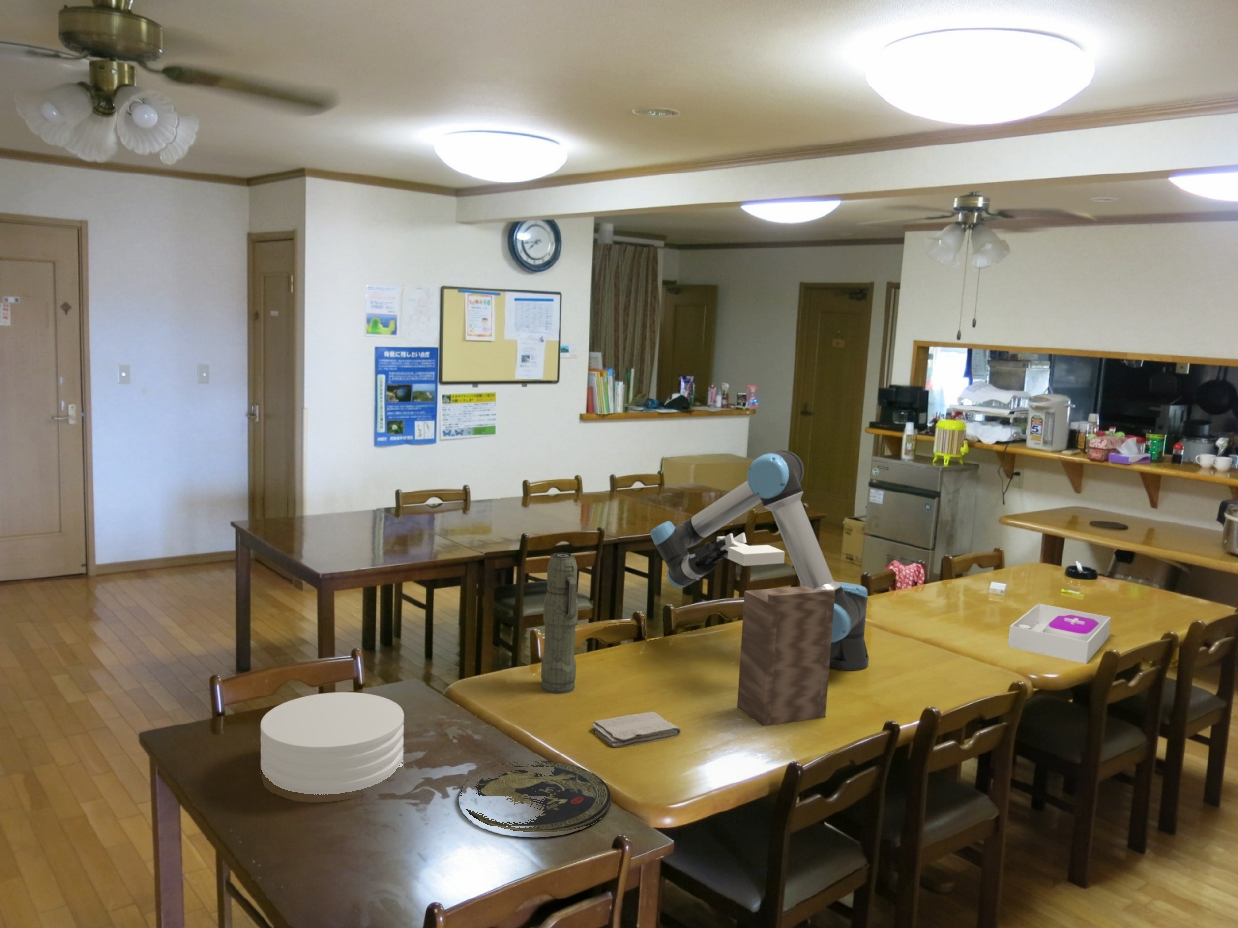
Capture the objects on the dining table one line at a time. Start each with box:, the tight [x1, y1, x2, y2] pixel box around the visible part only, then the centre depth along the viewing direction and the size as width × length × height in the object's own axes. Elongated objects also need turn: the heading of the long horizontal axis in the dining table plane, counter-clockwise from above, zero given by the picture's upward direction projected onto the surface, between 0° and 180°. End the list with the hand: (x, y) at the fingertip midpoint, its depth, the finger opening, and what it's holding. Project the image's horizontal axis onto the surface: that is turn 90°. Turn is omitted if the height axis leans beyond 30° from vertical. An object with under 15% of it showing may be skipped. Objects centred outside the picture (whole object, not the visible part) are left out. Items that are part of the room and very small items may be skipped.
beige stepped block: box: [716, 535, 785, 567], centre depth 257 cm, size 12×22×3 cm, turn 24°
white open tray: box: [1007, 603, 1112, 665], centre depth 309 cm, size 22×35×7 cm, turn 143°
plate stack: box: [260, 691, 405, 795], centre depth 200 cm, size 28×28×12 cm
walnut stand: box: [736, 585, 835, 727], centre depth 239 cm, size 18×12×32 cm, turn 114°
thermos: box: [540, 552, 579, 695], centre depth 249 cm, size 9×12×35 cm
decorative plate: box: [459, 760, 612, 832], centre depth 192 cm, size 30×2×30 cm
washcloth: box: [592, 711, 682, 748], centre depth 226 cm, size 12×18×3 cm, turn 120°
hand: (738, 537), depth 259 cm, fingers closed on beige stepped block, 3 cm apart
